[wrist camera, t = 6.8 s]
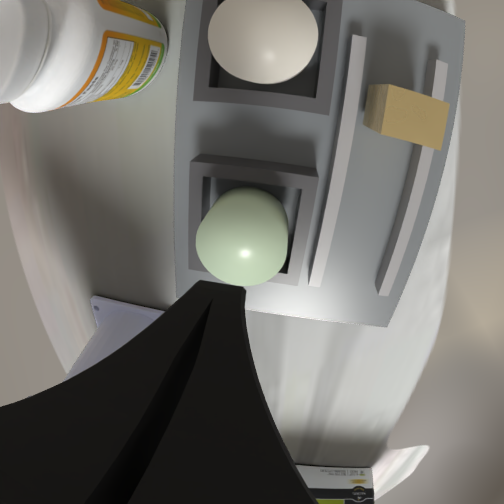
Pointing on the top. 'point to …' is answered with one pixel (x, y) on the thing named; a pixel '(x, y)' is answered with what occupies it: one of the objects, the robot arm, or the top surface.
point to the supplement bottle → (76, 52)
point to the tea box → (339, 484)
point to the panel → (319, 155)
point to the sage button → (244, 237)
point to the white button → (263, 39)
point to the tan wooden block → (406, 115)
